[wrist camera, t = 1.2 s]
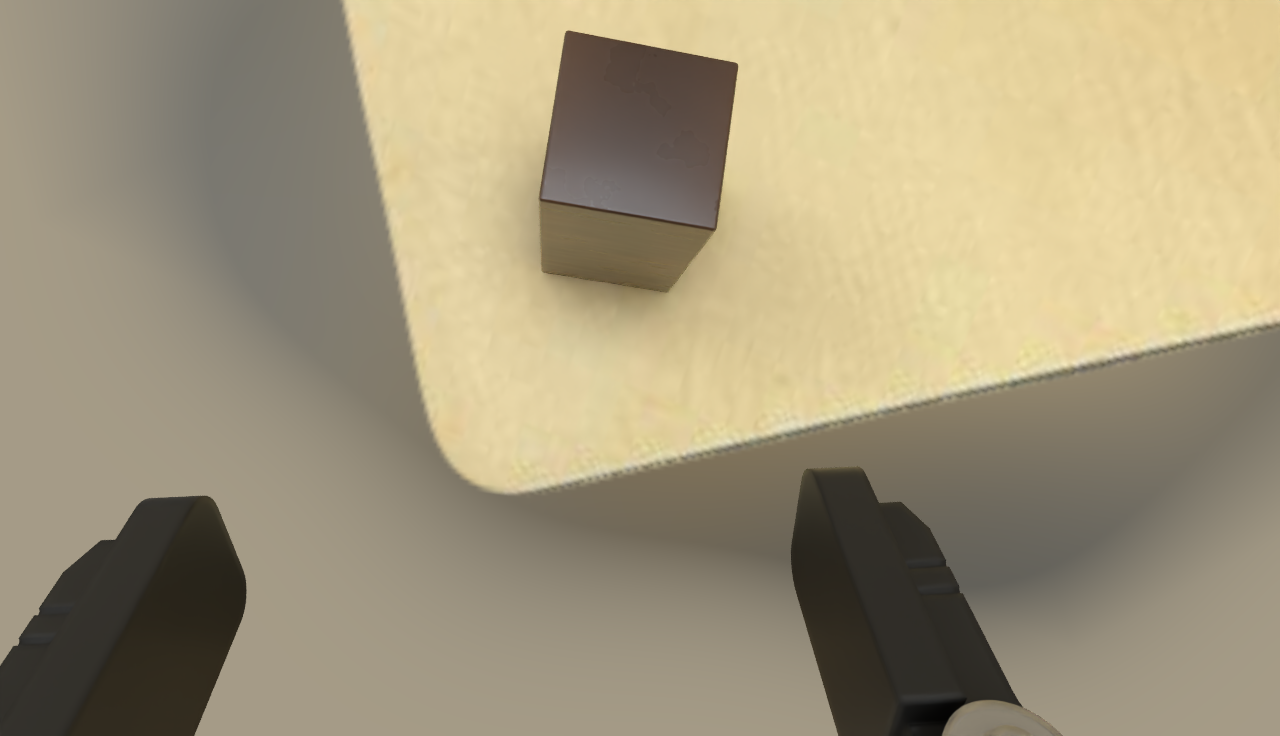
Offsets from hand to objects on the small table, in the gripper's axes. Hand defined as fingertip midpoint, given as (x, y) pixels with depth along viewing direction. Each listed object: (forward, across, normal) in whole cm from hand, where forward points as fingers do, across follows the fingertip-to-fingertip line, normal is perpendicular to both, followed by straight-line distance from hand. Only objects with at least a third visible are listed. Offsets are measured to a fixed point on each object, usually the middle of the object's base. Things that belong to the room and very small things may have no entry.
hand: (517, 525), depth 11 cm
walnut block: (+18, -2, +3) cm, 18 cm away
